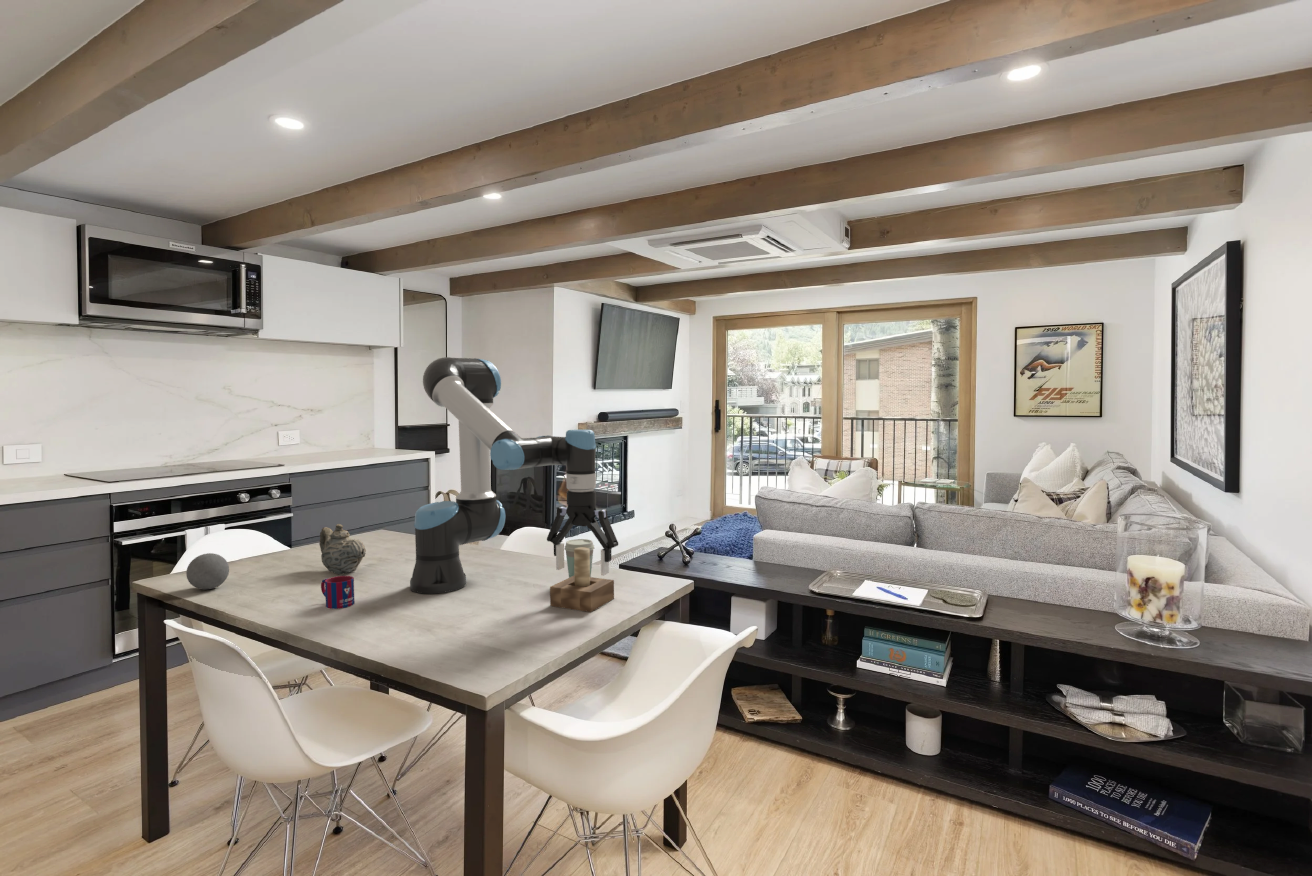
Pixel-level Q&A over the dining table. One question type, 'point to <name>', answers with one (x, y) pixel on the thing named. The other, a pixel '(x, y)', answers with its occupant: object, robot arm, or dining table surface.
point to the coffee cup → (570, 552)
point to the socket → (582, 594)
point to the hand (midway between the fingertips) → (582, 571)
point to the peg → (582, 567)
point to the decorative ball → (207, 571)
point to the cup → (338, 591)
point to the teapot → (340, 550)
